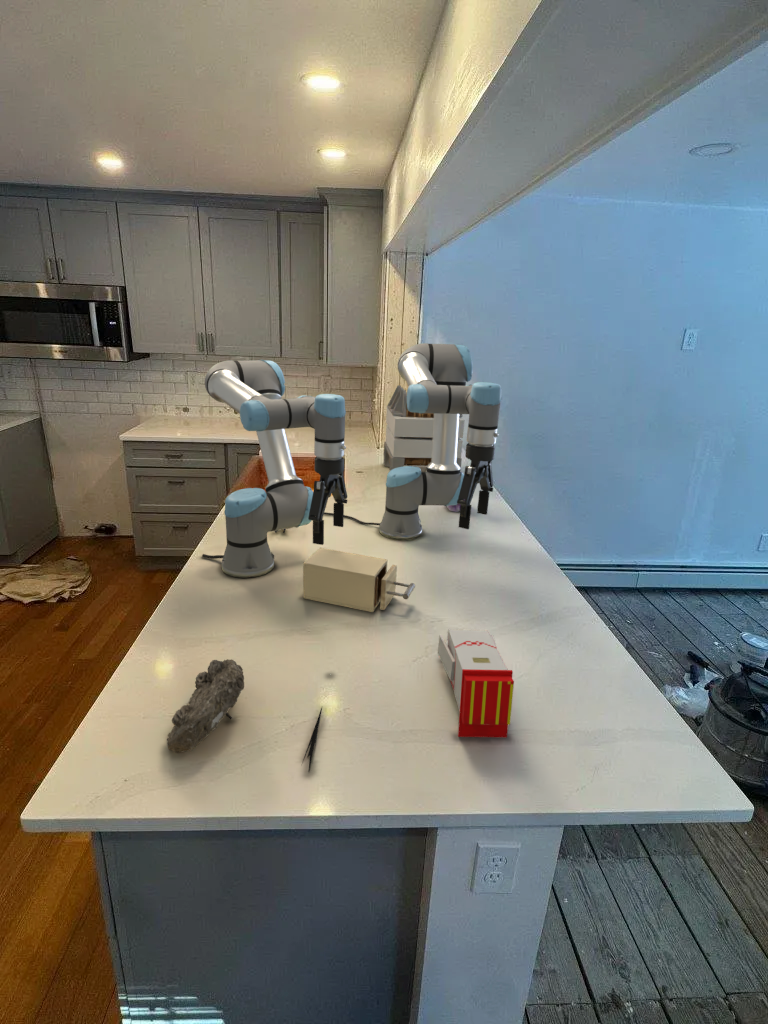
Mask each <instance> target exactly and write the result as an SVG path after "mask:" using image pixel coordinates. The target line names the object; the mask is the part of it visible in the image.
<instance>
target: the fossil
mask: <svg viewBox="0 0 768 1024" xmlns="http://www.w3.org/2000/svg"><path fill="white" fill-rule="evenodd" d="M243 670H244V669H243V667H242V665H240V664H237V662H236V661H235V660H234V659H232V658H231V659H227V658H226V659H224V660H223V661H222V660H217V659H212V660H211V661H210V663H209V665H208V666H207V671H201V672H199V673H198V674H197V675H196V676H195V680H194V684H195V685H194V687H195V689H194V690H193V693H192V694H191V697H190V698H189V700H188V704H184V705H182V706H181V707H180V709H177V710H176V711H175V713H174V715H173V716H172V718H171V723H172V724H173V727H172V730H171V731H170V732H168V734H167V738H166V741H167V742H166V745H167V749H168V750H169V751H173V752H174V753H176V754H178V753H182V752H188V751H189V752H192V751H193V750H195V748H196V747H197V746H199V744H200V743H201V742H203V741H204V740H205V739H206V738H207V737H208V736H209V735H210V734H211V733H212V732H214V730H215V729H217V727H218V726H219V724H220V722H221V721H222V720H223V719H224V718H225V716H226V717H227V719H229V720H233V717H232V715H230V714H229V710H230V709H231V708H234V706H235V704H236V703H237V702H238V699H239V697H240V695H241V693H242V691H243V690H245V689H244V688H245V675H244V671H243Z"/></svg>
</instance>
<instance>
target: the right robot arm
mask: <svg viewBox="0 0 768 1024" xmlns="http://www.w3.org/2000/svg"><path fill="white" fill-rule="evenodd" d="M472 358H473V357H472V354H471V350H470V349H469V347H468V346H466V345H463V344H456V343H428V342H423V343H417V344H414V345H411V346H410V347H408V348H406V349H405V350H404V351H403V352H402V353H401V354H400V356H399V357H398V360H397V371H398V374H399V376H400V378H401V379H403V381H405V382H406V384H407V386H408V387H407V390H406V393H407V409H408V411H410V412H414V413H420V414H422V413H434V421H433V440H432V459H431V463H430V464H429V465H427V466H426V471H422V469H421V467H420V466H407V465H404V466H403V467H398V468H394V469H392V470H391V471H390V470H388V473H387V475H386V482H385V487H386V488H385V489H386V490H385V504H384V505H385V507H384V508H385V509H384V513H383V515H382V519H381V522H365V521H361V520H359V519H358V518H355V517H354V516H350V515H345V514H344V518H346V519H350V520H353V521H355V522H357V523H359V524H361V525H367V526H378V533H379V534H380V535H381V536H382V537H385V538H387V539H389V540H395V541H410V540H415V539H418V538H420V537H421V536H422V535H423V525H422V524H421V523H422V520H421V518H420V515H419V507H420V506H442V507H443V506H444V507H447V506H448V505H457V504H461V506H460V511H459V516H458V528H460V529H465V530H470V526H471V525H470V524H471V515H472V504H471V502H472V500H473V498H474V495H475V491H476V488H477V485H478V484H479V487H480V490H479V491H478V500H477V510H476V513H477V514H480V515H484V516H487V515H488V510H489V509H488V508H489V502H490V501H489V500H490V493H493V492H494V479H493V478H494V477H493V460H494V459H495V454H496V446H495V445H496V444H497V438H499V436H500V434H499V432H498V428H499V427H498V425H499V419H500V412H501V411H500V409H501V402H502V400H503V399H502V386H501V384H499V383H494V382H489V381H487V382H486V381H477V382H474V383H472V384H467V383H468V382H470V381H471V380H472V378H473V372H474V371H473V368H474V367H473V359H472ZM459 414H462V415H468V425H467V433H466V442H467V443H466V446H465V454H464V455H465V458H466V459H467V460H470V465H466V466H465V467H464V472H463V471H461V472H460V467H459V466H458V465H457V463H456V459H457V443H458V427H459ZM462 472H463V473H462ZM464 499H465V500H464ZM324 515H325V516H326V515H328V516H333V515H334V512H333V513H332V512H325V511H324Z"/></svg>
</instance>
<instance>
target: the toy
mask: <svg viewBox="0 0 768 1024" xmlns="http://www.w3.org/2000/svg"><path fill="white" fill-rule="evenodd" d="M446 640H447V643H446V641H445V639H444V636H443V635H442V634H439V637H438V646H437V656H438V657H439V659H440V661H441V663H442V666H443V668H444V670H445V672H446V674H447V677H448V679H449V681H450V684H451V687H452V690H453V693H454V697H455V701H456V705H457V708H458V711H459V714H458V715H459V716H458V730H457V731H458V732H457V737H458V738H508V731H509V726H510V725H511V717H512V707H513V697H514V696H513V695H514V684H515V680H514V679H513V673H514V671H513V670H512V669H508V667H507V665H506V662H505V661H504V659H503V658H502V655H501V653H500V651H499V649H498V647H497V643H496V639H495V637H494V635H493V634H491V632H490V631H489V629H467V628H466V629H465V628H463V629H461V628H460V629H459V628H448V630H447V639H446Z"/></svg>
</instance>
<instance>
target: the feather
mask: <svg viewBox="0 0 768 1024" xmlns="http://www.w3.org/2000/svg"><path fill="white" fill-rule="evenodd" d="M329 675H330V676H331V675H332V674H331V673H330V674H329ZM322 710H323V707H321V708H320V710H319V713H318V716H317V719H316V723H315V725H314V728H313V731H312V733H311V737H310V739H309V742H308V745H307V748H306V751H305V754H304V757H303V760H302V763H301V767H302V765H303V763H304V761H305V758H308V759H309V760H308V762H307V763H308V764H307V766H308V771H310V770H311V766H312V765H311V764H312V760H313V757H315V756H314V755H315V751H316V749H315V746H317V739H318V733H319V729H320V722H321V717H322V712H323V711H322ZM313 754H314V755H313ZM306 755H307V757H306Z"/></svg>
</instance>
